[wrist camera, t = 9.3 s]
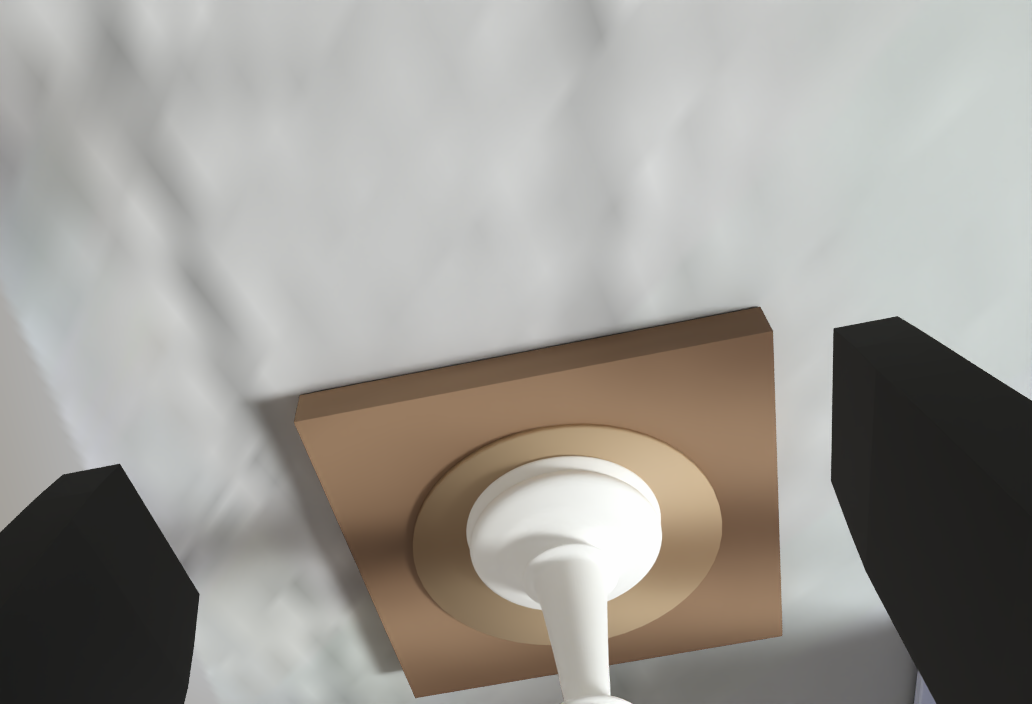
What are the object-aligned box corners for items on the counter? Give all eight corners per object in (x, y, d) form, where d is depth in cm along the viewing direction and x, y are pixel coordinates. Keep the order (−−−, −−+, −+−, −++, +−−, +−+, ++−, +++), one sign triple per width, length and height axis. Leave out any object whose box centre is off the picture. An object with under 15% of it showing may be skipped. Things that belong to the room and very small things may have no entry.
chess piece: (519, 614, 25) (553, 1055, 17) (430, 501, 22) (419, 961, 14) (687, 551, 24) (811, 989, 16) (615, 425, 21) (720, 874, 13)
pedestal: (772, 608, 27) (784, 641, 26) (416, 669, 28) (415, 704, 27) (760, 306, 21) (775, 336, 20) (299, 395, 22) (292, 427, 21)
